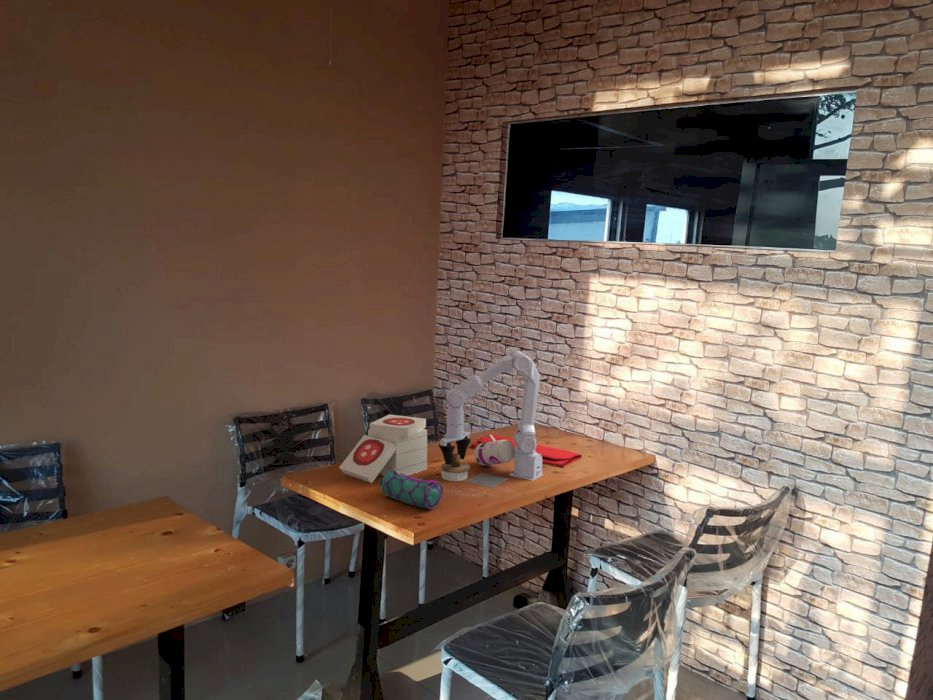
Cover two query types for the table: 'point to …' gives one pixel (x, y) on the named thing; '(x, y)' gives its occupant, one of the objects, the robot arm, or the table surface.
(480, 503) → the table surface
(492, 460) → the supplement can
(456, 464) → the lid
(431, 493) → the pencil case
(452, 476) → the bowl
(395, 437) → the pizza boxes
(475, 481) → the mat
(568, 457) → the dish drying mat
